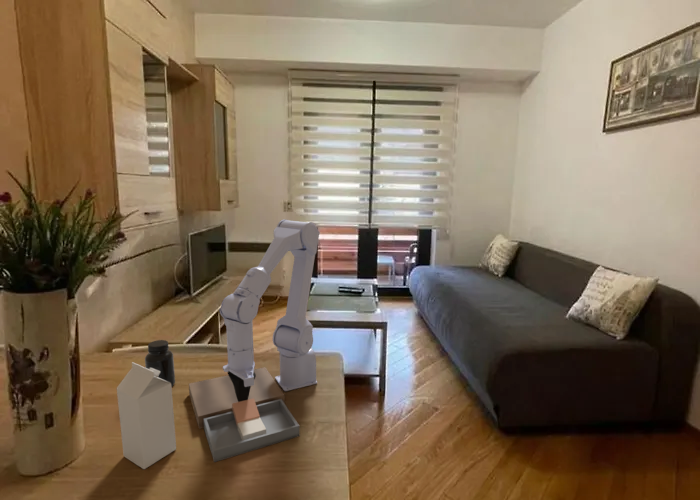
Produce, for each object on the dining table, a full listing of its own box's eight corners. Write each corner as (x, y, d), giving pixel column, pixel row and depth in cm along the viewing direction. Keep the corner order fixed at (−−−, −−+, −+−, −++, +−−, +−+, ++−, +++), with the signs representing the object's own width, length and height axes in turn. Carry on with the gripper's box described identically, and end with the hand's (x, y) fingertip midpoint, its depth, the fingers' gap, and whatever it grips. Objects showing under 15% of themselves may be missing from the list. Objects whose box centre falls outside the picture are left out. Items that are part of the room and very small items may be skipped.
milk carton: (144, 470, 79) (135, 379, 76) (123, 456, 83) (114, 369, 80) (176, 449, 85) (170, 364, 82) (155, 437, 89) (148, 355, 85)
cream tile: (266, 429, 89) (266, 435, 89) (259, 417, 93) (259, 422, 94) (242, 435, 87) (243, 442, 87) (237, 423, 91) (237, 429, 91)
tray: (281, 408, 101) (281, 398, 100) (299, 436, 90) (299, 425, 90) (204, 428, 92) (203, 418, 92) (214, 462, 82) (213, 451, 81)
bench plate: (265, 377, 115) (265, 367, 115) (284, 405, 102) (284, 394, 101) (189, 394, 106) (188, 383, 106) (199, 428, 92) (198, 416, 92)
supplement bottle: (180, 383, 111) (177, 341, 109) (157, 395, 106) (153, 351, 103) (165, 376, 115) (162, 336, 113) (141, 387, 109) (137, 344, 107)
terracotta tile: (253, 402, 98) (253, 398, 97) (259, 420, 94) (259, 415, 93) (231, 407, 95) (232, 403, 95) (236, 426, 92) (237, 421, 91)
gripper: (216, 337, 99) (218, 389, 101) (229, 362, 86) (232, 421, 89) (245, 332, 102) (247, 383, 105) (262, 356, 89) (264, 413, 92)
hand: (242, 400), depth 97 cm, fingers closed
